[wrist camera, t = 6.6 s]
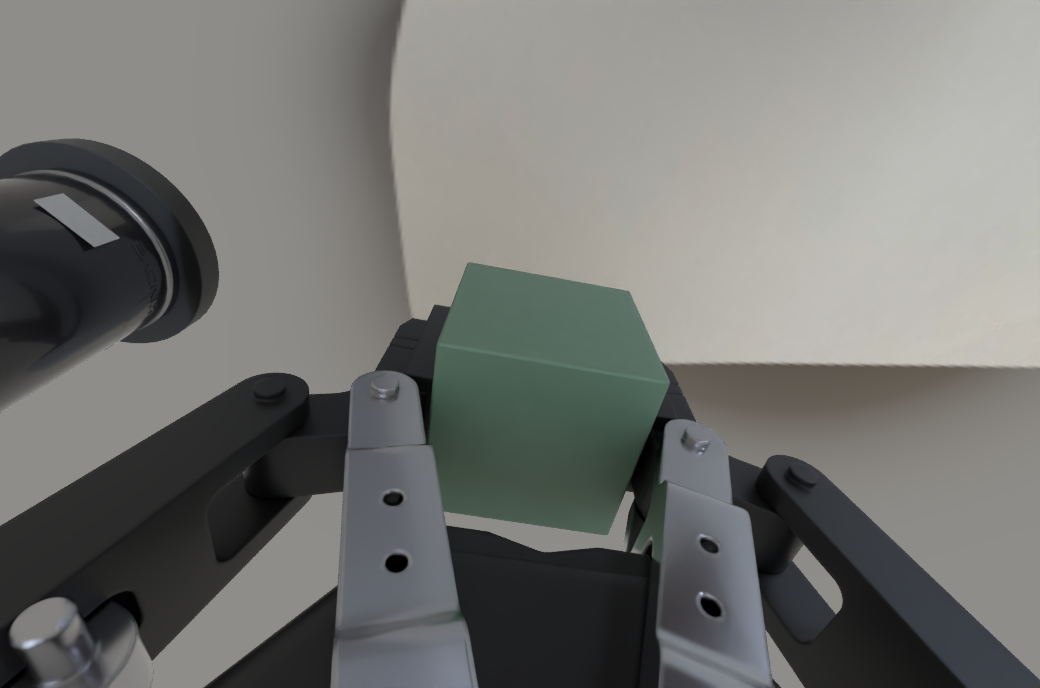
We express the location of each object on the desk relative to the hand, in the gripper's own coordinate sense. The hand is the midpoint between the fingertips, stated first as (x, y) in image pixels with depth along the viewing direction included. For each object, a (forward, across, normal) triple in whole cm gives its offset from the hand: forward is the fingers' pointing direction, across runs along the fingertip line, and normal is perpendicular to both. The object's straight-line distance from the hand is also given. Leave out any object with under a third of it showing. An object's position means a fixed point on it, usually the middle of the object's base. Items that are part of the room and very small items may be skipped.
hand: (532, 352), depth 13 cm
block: (0, 0, 0) cm, 0 cm away
